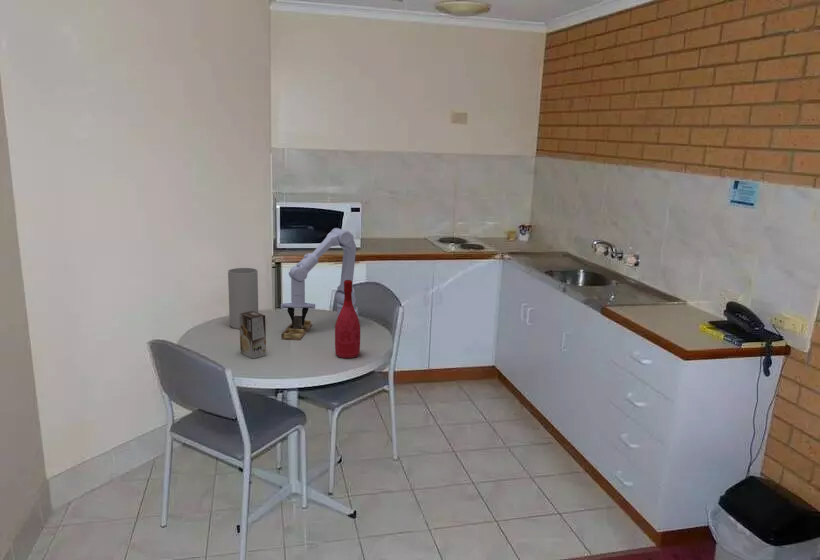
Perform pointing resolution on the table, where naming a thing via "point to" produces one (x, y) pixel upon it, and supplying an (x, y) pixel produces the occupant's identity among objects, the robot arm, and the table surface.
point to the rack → (296, 331)
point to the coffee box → (252, 334)
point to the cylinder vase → (242, 293)
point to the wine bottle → (347, 327)
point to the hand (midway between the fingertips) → (298, 324)
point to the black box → (298, 322)
